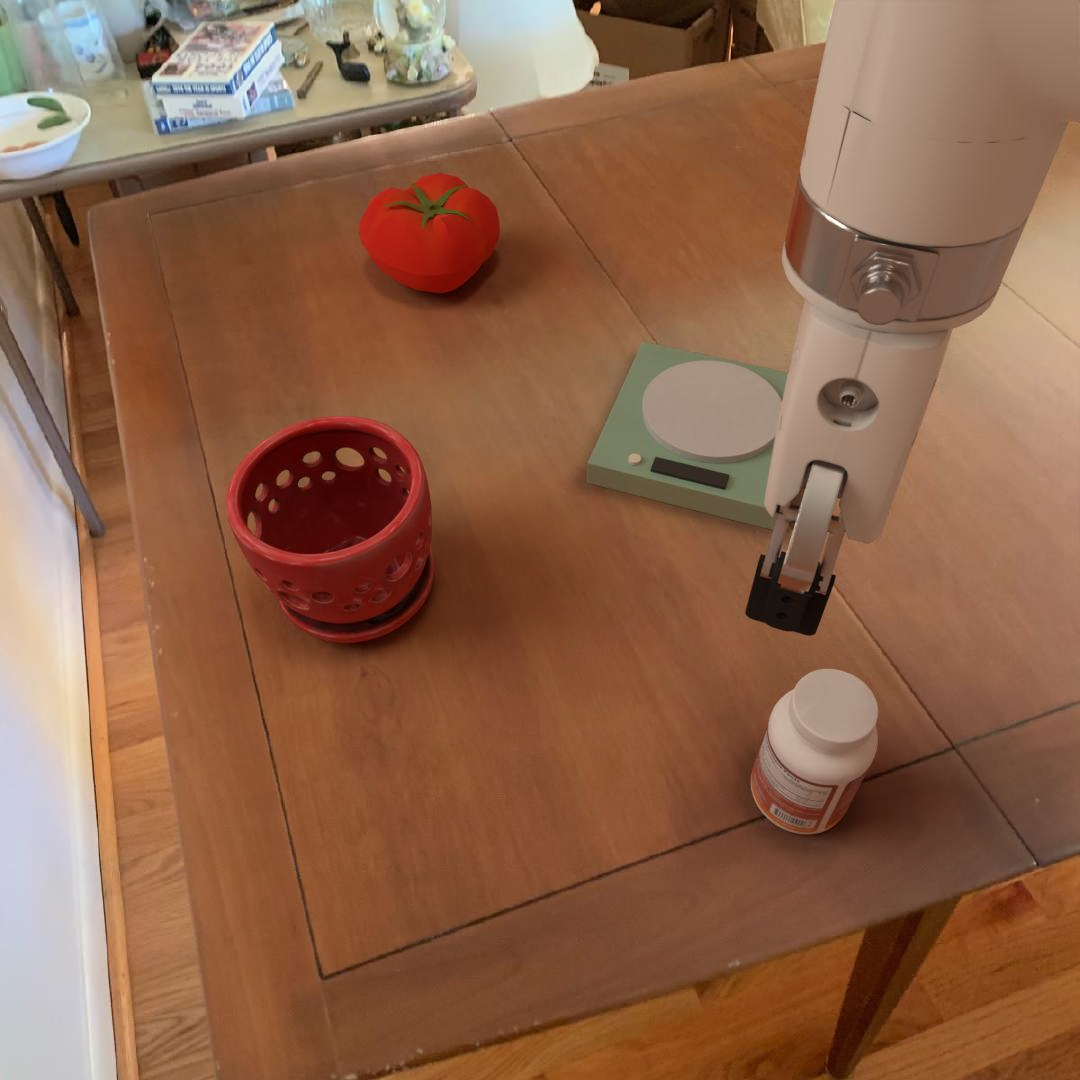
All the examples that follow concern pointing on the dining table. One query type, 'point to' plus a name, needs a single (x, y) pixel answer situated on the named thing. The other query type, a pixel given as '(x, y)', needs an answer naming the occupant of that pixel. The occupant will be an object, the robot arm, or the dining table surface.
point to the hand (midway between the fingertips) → (802, 544)
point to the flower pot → (337, 527)
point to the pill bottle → (815, 751)
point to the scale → (692, 433)
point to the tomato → (430, 232)
